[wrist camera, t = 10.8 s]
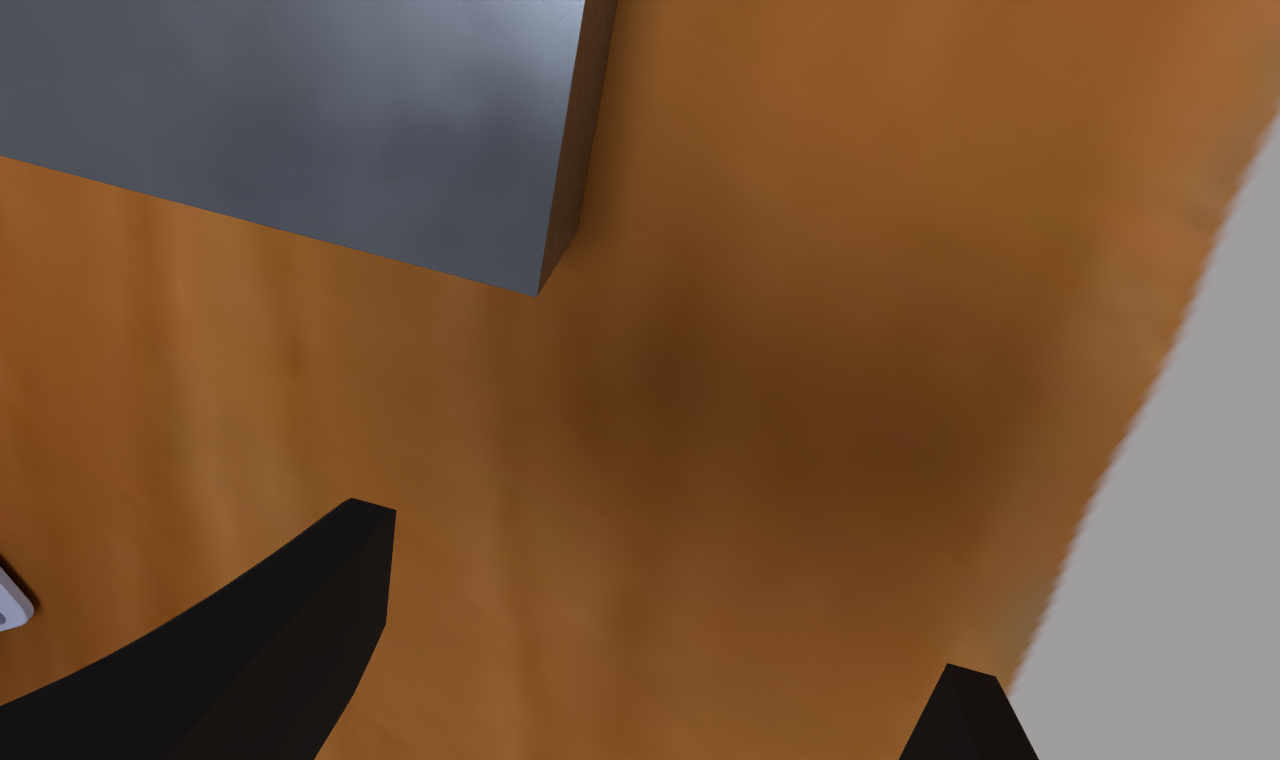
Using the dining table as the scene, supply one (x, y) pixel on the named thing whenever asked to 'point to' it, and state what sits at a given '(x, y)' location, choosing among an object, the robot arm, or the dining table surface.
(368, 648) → the robot arm
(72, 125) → the bore block
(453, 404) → the dining table surface
